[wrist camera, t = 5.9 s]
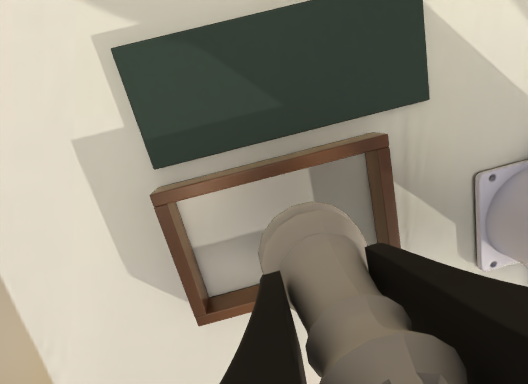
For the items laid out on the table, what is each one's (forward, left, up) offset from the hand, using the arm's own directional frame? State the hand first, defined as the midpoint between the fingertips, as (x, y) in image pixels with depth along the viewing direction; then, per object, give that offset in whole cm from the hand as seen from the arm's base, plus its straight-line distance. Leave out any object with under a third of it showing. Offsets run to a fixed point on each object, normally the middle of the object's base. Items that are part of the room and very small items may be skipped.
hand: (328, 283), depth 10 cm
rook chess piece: (0, 0, -3) cm, 3 cm away
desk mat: (-2, -8, -10) cm, 13 cm away
